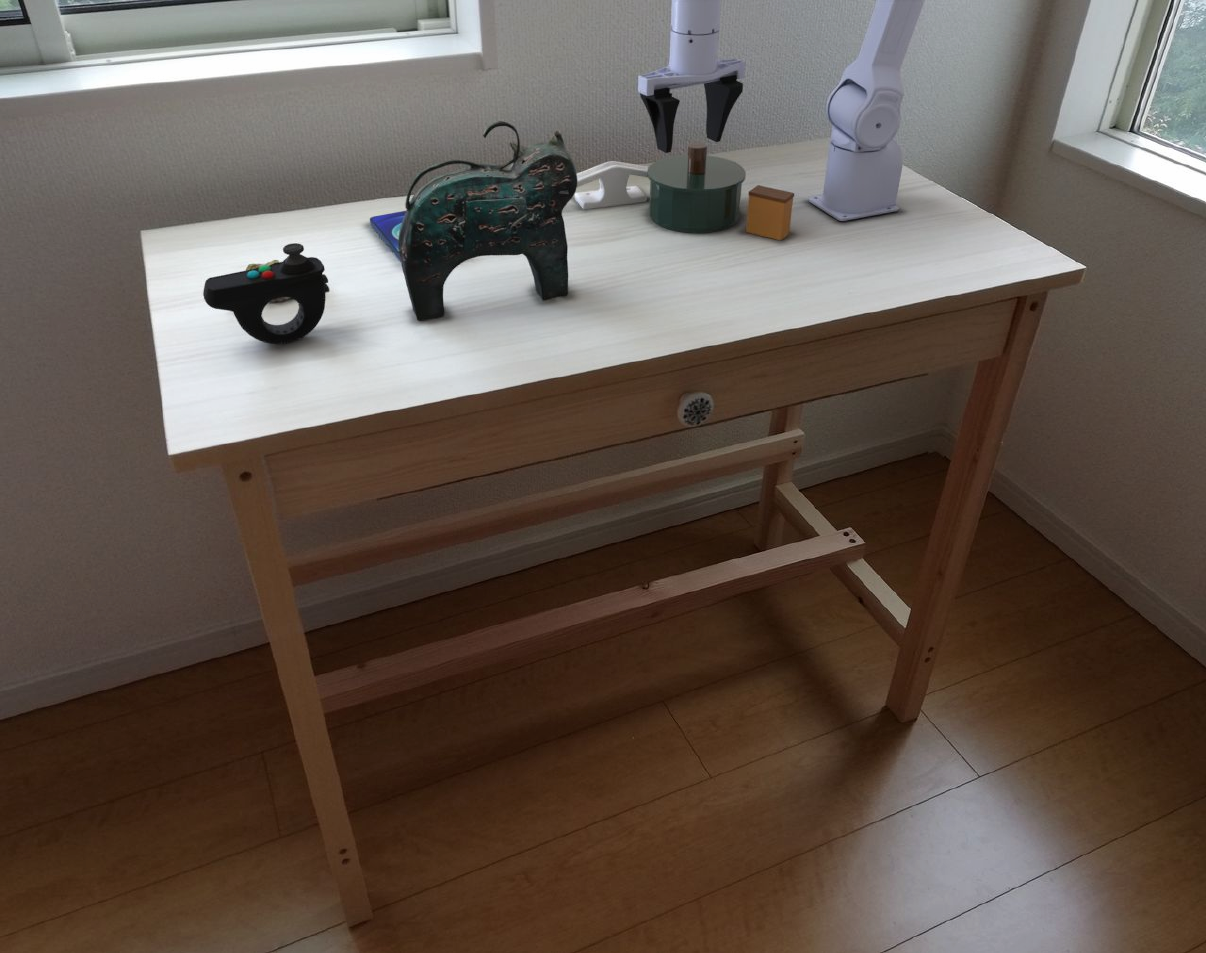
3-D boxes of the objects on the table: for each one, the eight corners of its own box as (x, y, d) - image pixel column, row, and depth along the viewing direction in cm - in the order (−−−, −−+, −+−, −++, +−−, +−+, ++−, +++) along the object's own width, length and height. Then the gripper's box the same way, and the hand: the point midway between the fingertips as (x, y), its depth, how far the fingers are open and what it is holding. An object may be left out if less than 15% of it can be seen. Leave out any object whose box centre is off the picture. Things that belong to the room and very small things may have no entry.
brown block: (789, 233, 129) (794, 192, 126) (780, 241, 127) (785, 199, 124) (754, 225, 131) (757, 184, 128) (744, 232, 129) (748, 191, 126)
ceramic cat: (569, 278, 118) (566, 105, 106) (588, 302, 114) (586, 124, 102) (403, 305, 113) (379, 126, 101) (415, 331, 108) (391, 146, 96)
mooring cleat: (537, 203, 137) (535, 164, 134) (672, 186, 142) (674, 148, 139) (544, 214, 134) (543, 174, 131) (683, 196, 139) (685, 157, 136)
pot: (711, 193, 140) (714, 154, 137) (754, 224, 131) (758, 183, 128) (635, 206, 136) (636, 166, 133) (674, 238, 128) (676, 197, 124)
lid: (715, 157, 138) (717, 124, 135) (763, 188, 128) (766, 154, 126) (631, 170, 134) (631, 136, 131) (674, 203, 124) (675, 168, 121)
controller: (341, 336, 107) (325, 249, 101) (222, 363, 103) (198, 273, 97) (330, 319, 110) (314, 234, 104) (215, 344, 106) (191, 256, 100)
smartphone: (422, 207, 134) (461, 247, 123) (423, 213, 134) (462, 254, 123) (367, 217, 131) (402, 259, 120) (368, 224, 131) (403, 266, 121)
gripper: (723, 15, 123) (716, 126, 131) (624, 30, 117) (623, 145, 125) (759, 26, 118) (749, 141, 127) (658, 43, 112) (654, 162, 120)
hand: (689, 144), depth 126 cm, fingers open, 7 cm apart
